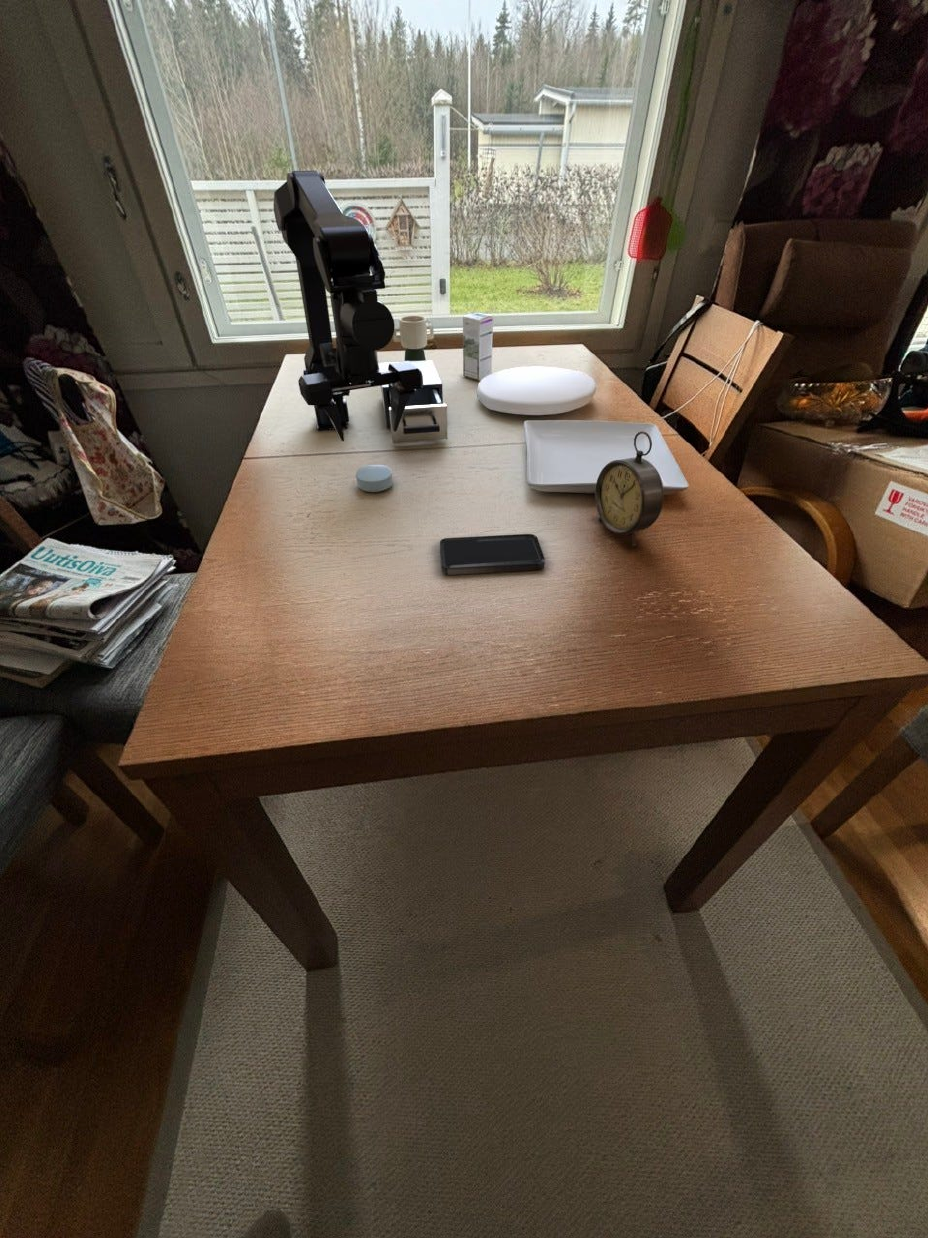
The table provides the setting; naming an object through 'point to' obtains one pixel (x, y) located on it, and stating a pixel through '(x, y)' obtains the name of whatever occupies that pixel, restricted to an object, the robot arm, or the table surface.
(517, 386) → the white rounded disc
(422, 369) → the cabinet
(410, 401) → the drawer
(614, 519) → the alarm clock
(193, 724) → the table surface
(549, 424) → the square plate
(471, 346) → the syrup box
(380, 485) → the pale blue short cylinder
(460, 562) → the phone
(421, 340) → the character mug
